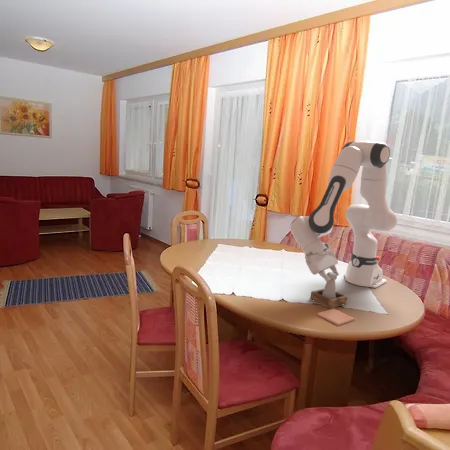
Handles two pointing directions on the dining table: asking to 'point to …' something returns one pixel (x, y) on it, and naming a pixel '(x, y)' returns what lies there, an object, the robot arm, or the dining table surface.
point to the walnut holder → (326, 301)
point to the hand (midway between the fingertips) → (332, 278)
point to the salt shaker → (330, 286)
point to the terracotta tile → (336, 316)
